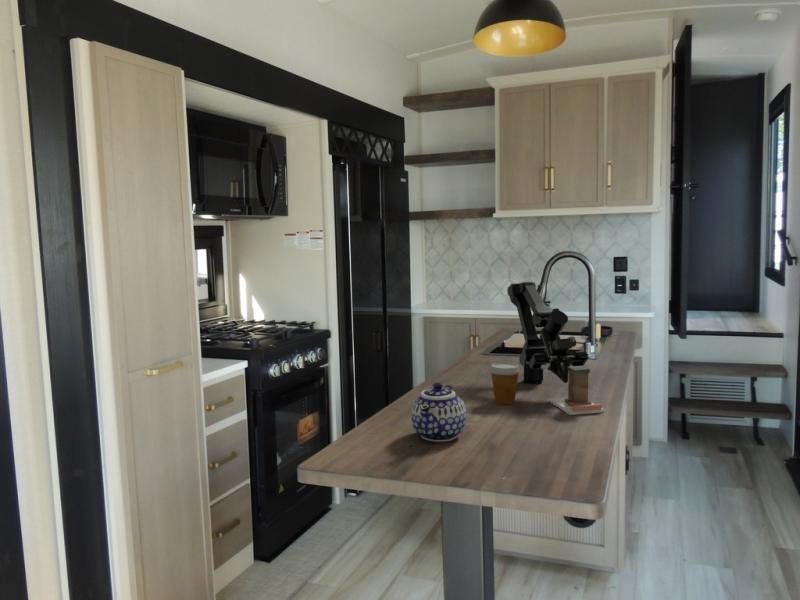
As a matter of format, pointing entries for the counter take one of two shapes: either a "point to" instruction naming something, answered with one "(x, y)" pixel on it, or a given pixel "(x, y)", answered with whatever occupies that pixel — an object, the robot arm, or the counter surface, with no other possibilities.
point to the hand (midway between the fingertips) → (566, 382)
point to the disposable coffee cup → (504, 382)
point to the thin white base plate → (576, 407)
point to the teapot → (438, 414)
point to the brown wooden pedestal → (578, 386)
